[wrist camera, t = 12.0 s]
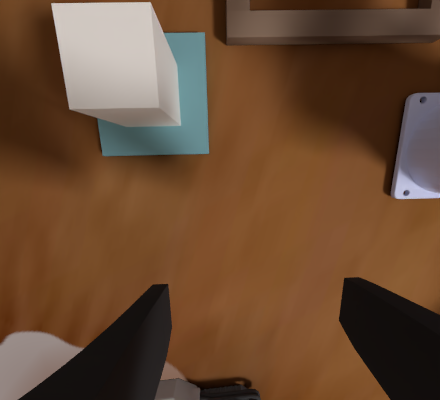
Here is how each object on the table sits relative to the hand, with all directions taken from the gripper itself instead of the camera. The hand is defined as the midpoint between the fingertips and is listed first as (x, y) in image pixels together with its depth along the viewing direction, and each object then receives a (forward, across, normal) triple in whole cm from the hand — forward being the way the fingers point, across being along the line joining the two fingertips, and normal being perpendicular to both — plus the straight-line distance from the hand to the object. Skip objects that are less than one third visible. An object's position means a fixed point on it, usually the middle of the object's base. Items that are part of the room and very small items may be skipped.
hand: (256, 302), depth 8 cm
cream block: (+9, +6, -10) cm, 15 cm away
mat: (+9, +6, -10) cm, 15 cm away
